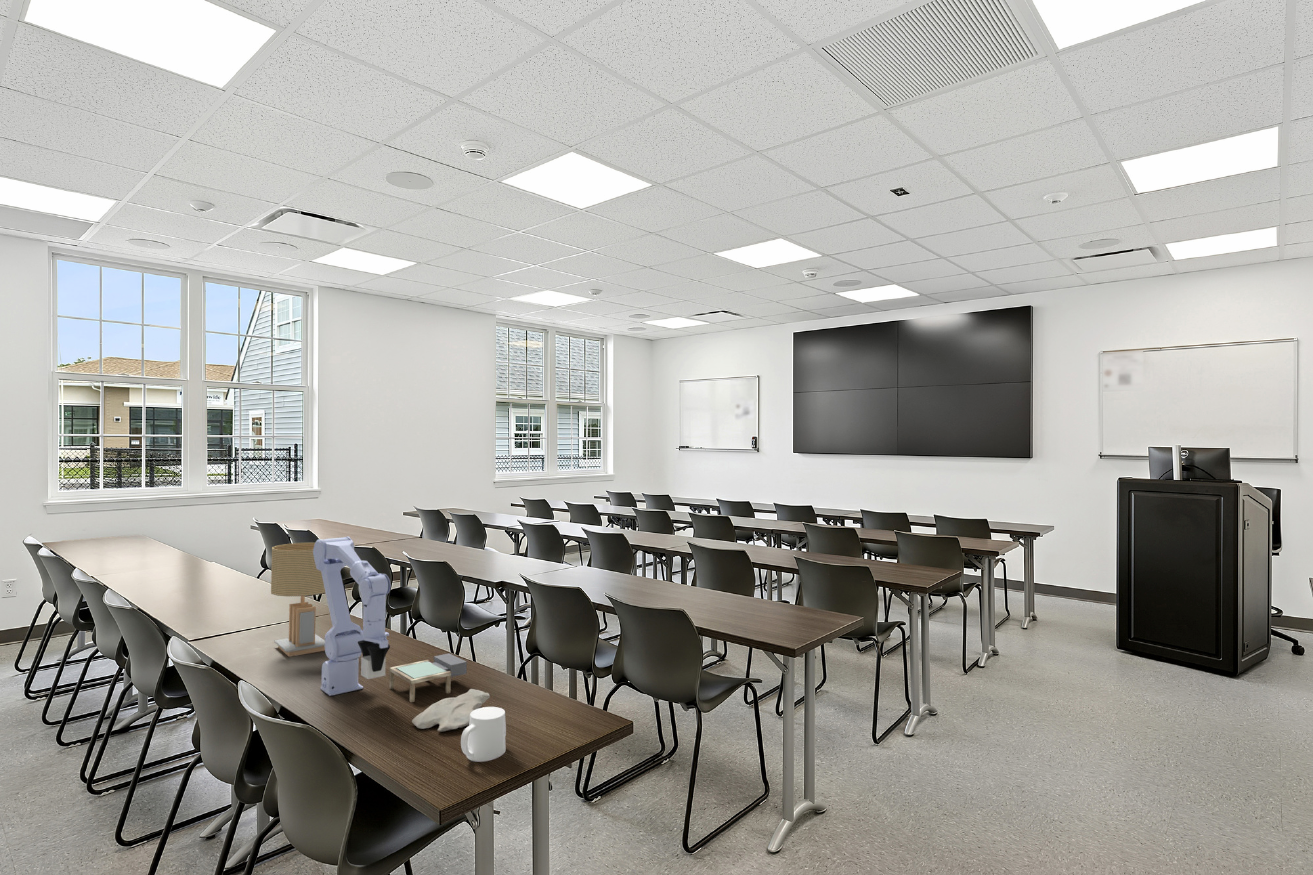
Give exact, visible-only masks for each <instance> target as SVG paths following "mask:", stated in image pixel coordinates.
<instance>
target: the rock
mask: <svg viewBox="0 0 1313 875" xmlns="http://www.w3.org/2000/svg"><path fill="white" fill-rule="evenodd" d="M490 697H491V696H490V694H489V692H485V691H482V690H480V689H474V688H470V689H469V690H468V691H467V692H465V693H462V694H460V695H458V696H456V697H446V698H442V699H441V700H439V701H437V702H435V703H432V704H431V705H430V706H428V707H427V708H426V709H424V711H422V712H420V713H419V714H417V715H416V716H414V718H413V719H412V720H411V722H412V724H413V725H414V726H416V728H417V729H421V730H422V729H423V730H424V729H429V728H432V727H434V726H437V725H439V726H438V728H437V731H438V732H441V733H442V732H446V731H451V730H457V729H458V728H461V729H462V728H464V727H468V726H469V722H470V713H471V712H472V711H474V710H476V709H479V708H482V705H483V704H484V703H485V702H486V701H487V700H489V698H490Z"/></svg>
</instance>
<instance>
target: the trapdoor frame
mask: <svg viewBox="0 0 1313 875" xmlns="http://www.w3.org/2000/svg"><path fill="white" fill-rule="evenodd" d="M427 661H428V662H430V660H429V659H425V660H422V661H421V660H420V661H416V662H410V663H405V664H401V665H397V666H396V665H395V666H392V667H389V678H388V679H389V680H388V682H389V683H388V689H389V690H393V689H394V688H395V676H397V677H399V678H400V679H402V680H403V681H405V682H407V683H408V684H409V702H410V703H414V702H415V701H416V700H415V698H416V684H420V683H422V682H423V683H424V682H428V681H432V680H436V679H441V678H445V693H446V694H451V691H452V689H451V686H452V685H451V684H452V683H451V682H452V677H451V672H450V671H447V672H443V673H438V674H434V675H429V676H425V677H420V678H416V679H413V678H411V677H409V676H408V675H406V674H404V673H402V672H401V671H399V670H397V669H396V668H398V667H403V666H408V665H413V664H417V663H422V662H427Z"/></svg>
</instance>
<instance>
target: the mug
mask: <svg viewBox="0 0 1313 875" xmlns="http://www.w3.org/2000/svg"><path fill="white" fill-rule="evenodd" d="M506 736H507V724H506V711H505V709H503V708H502V707H496V706H484V707H480V708H479V709H476V710H474V711H472V712H471V713H470V722H469V725H467V726H466V728H464V729H463V731H462V734H461V736H460V747H461V751H462V753H463V754H464V755H465V756H466V758H467V759H468V760H469V761H471V762H476V763H477V762H481V763H482V762H488V761H492V760H495V759H498V758H499V757H501V756H503V755H504V754H505V752H506V750H507V749H506V748H507V747H506V742H507V740H506Z"/></svg>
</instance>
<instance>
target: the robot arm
mask: <svg viewBox="0 0 1313 875" xmlns="http://www.w3.org/2000/svg"><path fill="white" fill-rule="evenodd" d="M354 542H355V541H354V540H352V538H351V537H350V536H343V537H336V538H335V537H333V538H324V539H321V538H319V539H317V540H316V541H315V542H314V543H315V545H314V549H313V555H314V560H315V565H316V568H317V569H318V570H320V571H321V573H322V578H323V583H324V588H325V596H326V601H327V606H328V611H329V615H330V619H331V625H332V626H331V628H330V629H328V631H327V632H326V633H325V635H324V640H325V651H324V652H325V655H326V657H327V658H328V660H326V661H324V662H322V664H321V665H322V666H321V680H320V681H321V682H320V683H321V686H320V688H319V689H320V690H321V691H323V693H325V694H327V695H328V696H329V697H330V696H337V695H340V694H344V693H348V692H354V691H357V690H362V689H364V686H363V685H362V684H360V683H359V664H360V663H359V662H360V660H359V658H360V657H364V656H369V655H370V656H371V663H372V670H373V672H376V671H381V669H382V666H383V662H384V659H385V657H386V655H387V653H388V651H389V650H390V648H391V645H390V644H389V639H387V637H389V636H390V633H389V632H387V631H386V611H387V610H386V609H387V608H386V605H387V602H386V601H387V600H386V599H387V596H388V594H389V593H390V591H391V579H390V578H389V576H388V575H387V574H386V573H380V572H379V573H378V571H377V570H376V569H375V568H374V567H373V566H372V564H370V562H368V560H362V559H361V558H360V556H359V555H358V554H357V552H356V551H355V543H354ZM346 566H347V568H349V569H350V571H349V574H350V577H351V578H352V579H353V580H354V581H355V583H357V584H358V585H359V593H360V595H361V603H362V604H363V611H362V612H363V614H362V615H363V616H362V617H363V620H362V628H361V626H360V625H359V624H357V623H354V622H353V621H352V620H351V616H350V611H349V606H348V605H349V604H348V602H347V597H346V592H345V587H344V583H343V578H342V574H341V570H342V569H343V568H345V567H346Z"/></svg>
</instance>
